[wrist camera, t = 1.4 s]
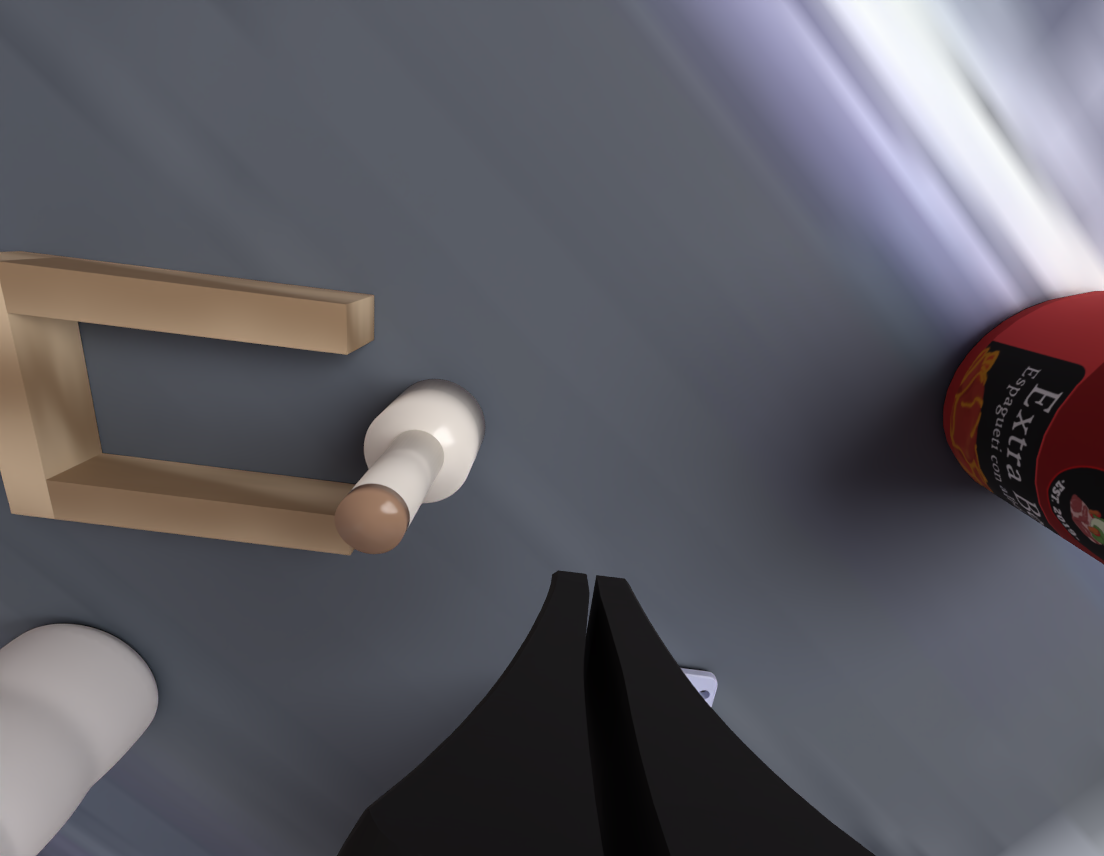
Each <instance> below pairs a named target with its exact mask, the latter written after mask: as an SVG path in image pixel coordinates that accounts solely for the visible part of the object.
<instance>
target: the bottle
mask: <svg viewBox="0 0 1104 856" xmlns="http://www.w3.org/2000/svg"><path fill="white" fill-rule="evenodd" d="M484 435H485V419H484V415H483V412H482V409H481V407H480V405H479V404H478V402H477V401H476V399H475V398H474V397H473V396H472V395H471V394H470V393H469V392H468V391H467V390H466V389H464V388H463V387H461V386H459V385H457V384H455V383H453V382H450V381H447V380H441V379H428V380H423V381H420V382H417V383H415V384H413V385H411V386H410V387H408V388H407V389H406V390H405V391H404V392H403V393H402V394H401V395H399V396H398V397H397V398H396V399H395V400H394V401H393V402H392V403H391V404H390V405H389V406H388V407H387V408H386V409H385V410H384V411H383V412H382V413H381V414H380V415H379V416H377V417H376V418H375V420H374V421H373V422H372V423H371V425H370V427H369V428H368V431H367V433H366V436H365V441H364V456H365V460H366V464H367V466H368V469H369V470H368V471H367V472H366V473H365V474H364V476H363V477H362V478H361V479H360V480H359V481H358V483H357V484H356V485H355V486H354V487H353V488H352V490H351V491H350V492H349V493H348V494H347V495H346V497H345V498H344V499H343V500H342V501H341V503H340V504H339V505H338V507H337V509H336V512H335V526H336V529H337V531H338V533H339V535H340V537H341V538H342V539H343V540H344V541H345V542H346V543H347V544H348V545H349V546H351V547H352V548H354V549H356V550H358V551H360V552H364V553H368V554H380V553H385V552H388V551H390V550H392V549H393V548H395V547H396V546H397V545H398V544H399V542H400V541H401V539H402V538H403V536H404V534H405V532H406V530H407V529H408V527H409V525H410V523H411V521H412V520H413V518H414V516H415V514H416V513H417V511H418V509H419V507H420V505H421V504H422V503H431V502H436V501H439V500H442V499H445V498H447V497H449V496H450V495H452V494H453V493H455V492H456V491H457V490H458V489H459V488H460V487H461V486H462V485H463V483H464V482H465V480H466V478H467V476H468V474H469V471H470V469H471V467H472V465H473V462H474V460H475V458H476V455H477V453H478V451H479V449H480V446H481V444H482V442H483V439H484Z"/></svg>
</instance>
